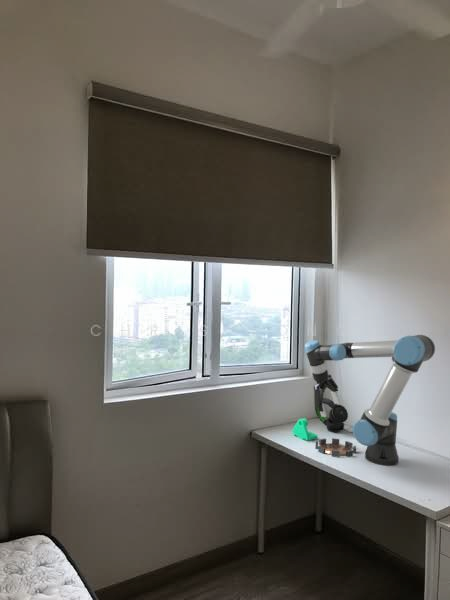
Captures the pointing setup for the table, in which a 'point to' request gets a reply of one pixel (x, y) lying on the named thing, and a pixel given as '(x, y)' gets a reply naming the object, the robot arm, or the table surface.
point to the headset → (333, 416)
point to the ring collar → (335, 448)
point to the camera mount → (303, 430)
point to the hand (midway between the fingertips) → (330, 409)
